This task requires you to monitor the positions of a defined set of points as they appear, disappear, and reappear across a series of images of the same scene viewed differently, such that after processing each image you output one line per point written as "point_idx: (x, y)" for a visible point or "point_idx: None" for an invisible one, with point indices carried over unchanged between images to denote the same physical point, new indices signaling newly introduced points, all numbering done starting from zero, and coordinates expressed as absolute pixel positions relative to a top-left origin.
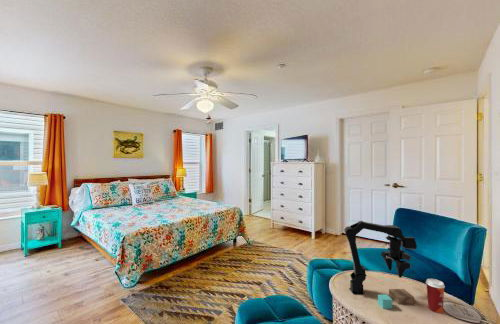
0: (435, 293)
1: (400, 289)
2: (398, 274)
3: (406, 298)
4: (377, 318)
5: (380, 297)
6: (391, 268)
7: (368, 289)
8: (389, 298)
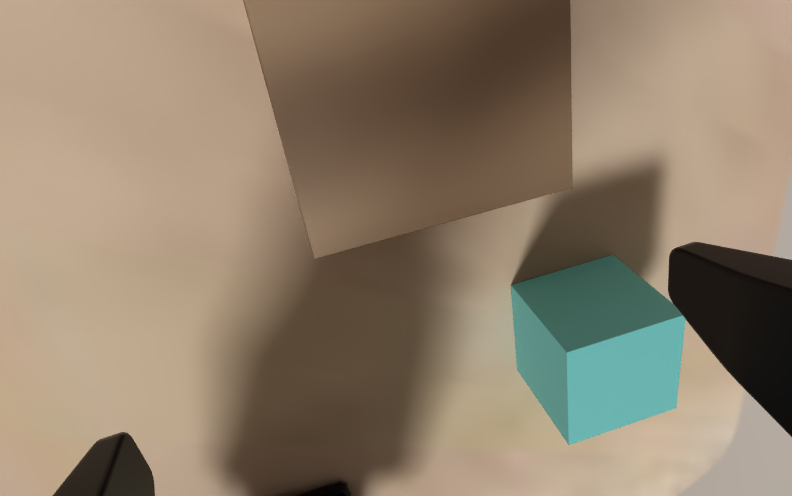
0: None
1: (281, 44)
2: (779, 391)
3: (561, 50)
4: (731, 399)
5: (622, 422)
6: (108, 482)
7: (195, 434)
8: (661, 338)
